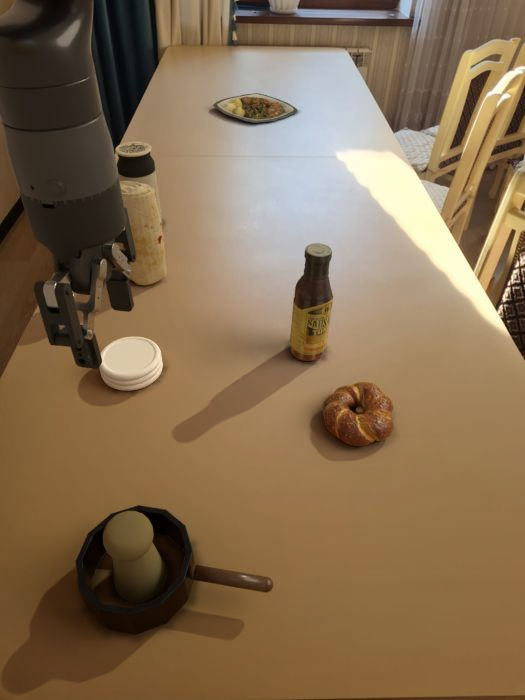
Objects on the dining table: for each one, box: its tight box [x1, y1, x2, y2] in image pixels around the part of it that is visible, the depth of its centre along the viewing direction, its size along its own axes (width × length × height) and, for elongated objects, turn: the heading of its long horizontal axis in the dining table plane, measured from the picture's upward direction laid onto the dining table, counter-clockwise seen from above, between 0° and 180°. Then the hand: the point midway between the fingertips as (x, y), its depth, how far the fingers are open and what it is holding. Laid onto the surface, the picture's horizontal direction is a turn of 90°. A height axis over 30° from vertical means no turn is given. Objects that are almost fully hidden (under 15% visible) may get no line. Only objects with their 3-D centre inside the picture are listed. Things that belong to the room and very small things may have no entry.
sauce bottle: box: [289, 242, 334, 362], centre depth 86 cm, size 7×6×20 cm
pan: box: [75, 504, 274, 635], centre depth 61 cm, size 22×12×5 cm, turn 80°
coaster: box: [98, 336, 164, 392], centre depth 88 cm, size 10×10×4 cm
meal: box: [212, 92, 299, 124], centre depth 184 cm, size 25×25×3 cm
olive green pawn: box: [103, 511, 168, 604], centre depth 59 cm, size 6×6×11 cm
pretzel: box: [321, 381, 395, 447], centre depth 80 cm, size 12×11×4 cm
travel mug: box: [114, 140, 163, 226], centre depth 119 cm, size 8×8×18 cm
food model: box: [115, 181, 168, 286], centre depth 102 cm, size 10×7×20 cm
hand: (107, 335), depth 52 cm, fingers open, 8 cm apart
